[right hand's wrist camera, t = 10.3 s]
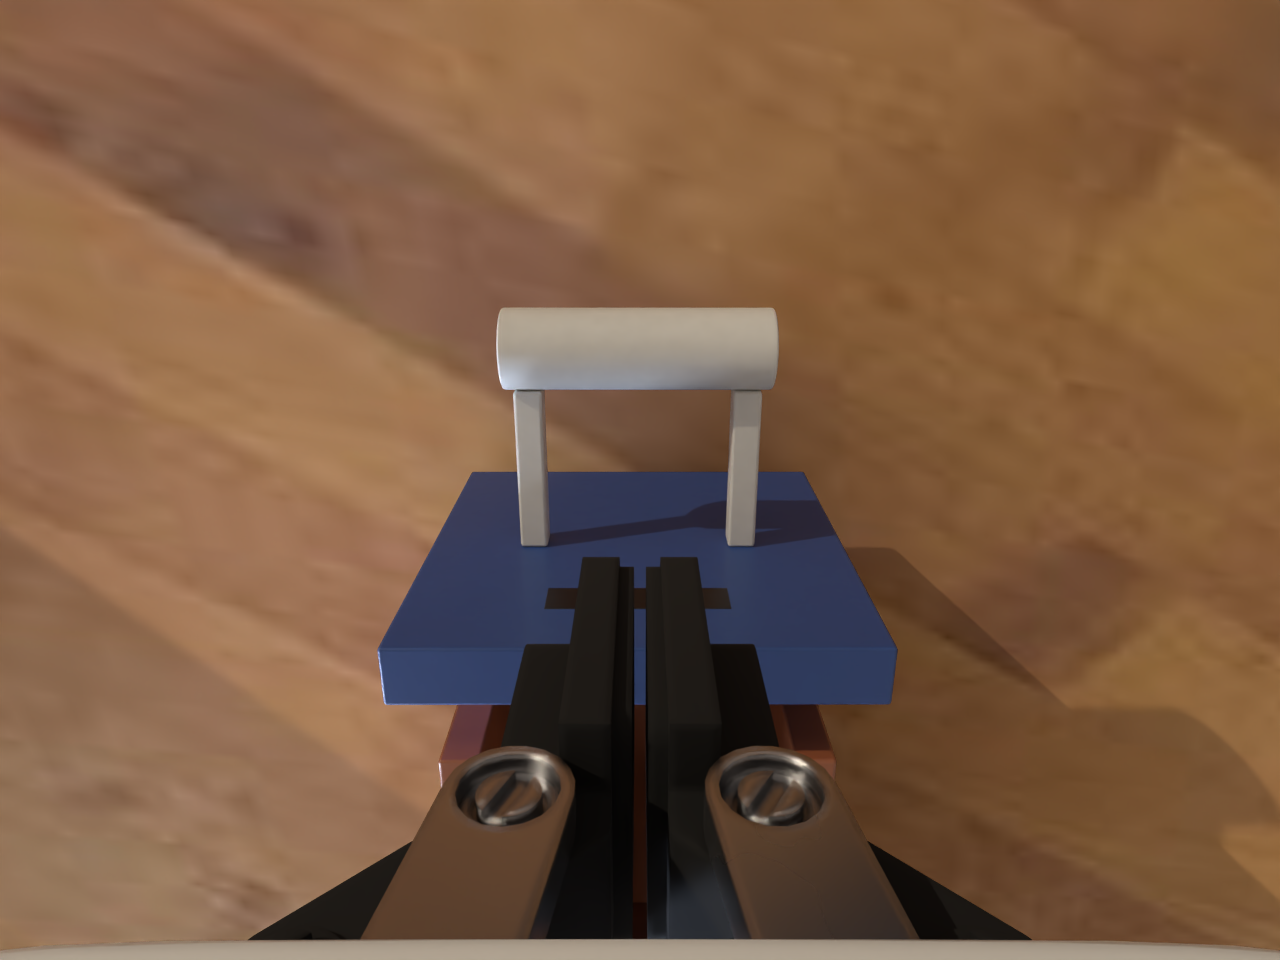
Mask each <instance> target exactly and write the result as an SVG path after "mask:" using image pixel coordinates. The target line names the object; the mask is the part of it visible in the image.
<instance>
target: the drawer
mask: <svg viewBox="0 0 1280 960" xmlns="http://www.w3.org/2000/svg"><path fill="white" fill-rule="evenodd" d="M778 355H779V331H778V321H777V315H776V312H775V310H774V309H773V308H502V309H501V310H500V313H499V317H498V323H497V364H498V373H499V378H500V382H501V385H502V387H503V389H506V390H515V392H514V394H513V399H514V418H515V437H516V456H517V472H473V473H472V474H471V476H470V477H469V479H468V481H467V483H466V485H465V487H464V489H463V491H462V492H461V494H460V496H459V498H458V500H457V502H456V504H455V505H454V507H453V509H452V511H451V513H450V515H449V517H448V519H447V520H446V522H445V524H444V526H443V528H442V530H441V532H440V534H439V535H438V537H437V539H436V541H435V543H434V545H433V547H432V548H431V550H430V552H429V554H428V556H427V558H426V560H425V562H424V563H423V565H422V567H421V569H420V571H419V573H418V575H417V576H416V578H415V580H414V582H413V584H412V586H411V588H410V590H409V591H408V593H407V595H406V597H405V599H404V601H403V603H402V604H401V606H400V608H399V610H398V612H397V614H396V616H395V618H394V619H393V621H392V623H391V625H390V627H389V629H388V631H387V632H386V634H385V636H384V638H383V640H382V642H381V644H380V646H379V647H378V658H379V666H380V674H381V682H382V690H383V698H384V703H385V704H386V705H457V708H456V711H455V714H454V717H453V720H452V723H451V726H450V729H449V732H448V735H447V738H446V741H445V744H444V747H443V750H442V753H441V756H440V759H439V771H440V781H441V788H442V786H443V784H444V782H445V781H446V779H447V778H448V777H449V775H450V774H451V773H452V772H453V770H454V769H455V768H456V767H458V766H459V765H460V764H462V763H463V762H465V761H466V760H467V759H469V758H470V757H473V756H475V755H477V754H480V753H482V752H484V751H487V750H491V749H495V748H500V747H501V744H502V739H503V735H504V731H505V727H506V723H507V718H508V714H509V710H510V706H511V702H512V697H513V693H514V689H515V685H516V681H517V677H518V672H519V668H520V664H521V660H522V656H523V651H524V648H525V645H526V644H570V639H571V632H572V626H573V619H574V612H575V605H576V598H577V591H578V584H579V578H580V571H581V564H582V558H583V557H620V567H634V714H635V738H634V848H633V939H647V848H646V739H645V713H646V567H660V557H697V558H698V564H699V571H700V578H701V584H702V591H703V598H704V605H705V612H706V619H707V626H708V632H709V639H710V644H754V645H755V648H756V651H757V656H758V660H759V664H760V668H761V672H762V677H763V681H764V685H765V689H766V693H767V697H768V702H769V706H770V710H771V714H772V718H773V723H774V727H775V731H776V735H777V739H778V744H779V747H780V748H785V749H789V750H793V751H796V752H798V753H800V754H803V755H805V756H807V757H810V758H811V759H813V760H814V761H815V762H817V763H818V764H820V765H821V766H822V767H824V768H825V769H826V770H827V772H828V773H829V774H830V775H831V777H832V778H833V779H834V781H835V772H836V762H837V761H836V758H835V755H834V752H833V749H832V746H831V743H830V740H829V737H828V734H827V731H826V728H825V725H824V722H823V719H822V716H821V713H820V710H819V707H818V704H890V703H891V700H892V692H893V683H894V675H895V667H896V659H897V651H898V649H897V647H896V645H895V643H894V641H893V639H892V637H891V636H890V634H889V632H888V630H887V628H886V626H885V624H884V622H883V621H882V619H881V617H880V615H879V613H878V611H877V609H876V607H875V606H874V604H873V602H872V600H871V598H870V596H869V594H868V592H867V591H866V589H865V587H864V585H863V583H862V581H861V579H860V577H859V576H858V574H857V572H856V570H855V568H854V566H853V564H852V562H851V561H850V559H849V557H848V555H847V553H846V551H845V549H844V547H843V546H842V544H841V542H840V540H839V538H838V536H837V534H836V532H835V530H834V529H833V527H832V525H831V523H830V521H829V519H828V517H827V515H826V514H825V512H824V510H823V508H822V506H821V504H820V502H819V500H818V499H817V497H816V495H815V493H814V491H813V489H812V487H811V485H810V484H809V482H808V480H807V478H806V476H805V474H804V473H803V472H758V466H759V447H760V427H761V408H762V393H761V391H760V390H770V389H772V388H773V386H774V384H775V380H776V375H777V368H778ZM544 390H731V409H730V434H729V460H728V472H548V471H547V446H546V421H545V396H544Z"/></svg>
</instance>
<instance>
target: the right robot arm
mask: <svg viewBox="0 0 1280 960" xmlns="http://www.w3.org/2000/svg"><path fill="white" fill-rule="evenodd" d="M634 738H635V714H634V567H620V557H583V558H582V564H581V571H580V578H579V584H578V591H577V598H576V605H575V612H574V619H573V626H572V632H571V639H570V644H526V645H525V648H524V651H523V656H522V660H521V664H520V668H519V672H518V677H517V681H516V685H515V689H514V693H513V697H512V702H511V706H510V710H509V714H508V718H507V723H506V727H505V731H504V735H503V739H502V744H501V747H500V748H495V749H491V750H487V751H484V752H482V753H480V754H477V755H475V756H473V757H470V758H469V759H467V760H466V761H465V762H463V763H462V764H460V765H459V766H458V767H456V768H455V769H454V770H453V772H452V773H451V774H450V775H449V777H448V778H447V779H446V781H445V782H444V784H443V786H442V788H441V789H440V791H439V793H438V795H437V797H436V799H435V801H434V802H433V804H432V806H431V808H430V810H429V812H428V814H427V816H426V817H425V819H424V821H423V823H422V825H421V827H420V829H419V830H418V832H417V834H416V836H415V838H414V840H413V841H412V842H410V843H408V844H407V845H405V846H403V847H402V848H400V849H398V850H397V851H395V852H393V853H392V854H390V855H388V856H386V857H385V858H383V859H381V860H380V861H378V862H376V863H375V864H373V865H371V866H370V867H368V868H366V869H365V870H363V871H361V872H360V873H358V874H356V875H355V876H353V877H351V878H350V879H348V880H346V881H345V882H343V883H341V884H340V885H338V886H336V887H334V888H333V889H331V890H329V891H328V892H326V893H324V894H323V895H321V896H319V897H318V898H316V899H314V900H313V901H311V902H309V903H308V904H306V905H304V906H303V907H301V908H299V909H298V910H296V911H294V912H293V913H291V914H289V915H288V916H286V917H284V918H283V919H281V920H279V921H277V922H276V923H274V924H272V925H271V926H269V927H267V928H266V929H264V930H262V931H261V932H259V933H257V934H256V935H254V936H253V937H251V938H250V939H248V940H215V941H149V942H122V943H96V944H70V945H45V946H36V947H27V948H18V949H9V950H0V960H1280V950H1271V949H1262V948H1253V947H1244V946H1235V945H1210V944H1184V943H1158V942H1131V941H1065V940H1032V939H1030V938H1029V937H1027V936H1026V935H1024V934H1023V933H1021V932H1019V931H1018V930H1016V929H1014V928H1013V927H1011V926H1009V925H1008V924H1006V923H1004V922H1003V921H1001V920H999V919H997V918H996V917H994V916H992V915H991V914H989V913H987V912H986V911H984V910H982V909H981V908H979V907H977V906H976V905H974V904H972V903H971V902H969V901H967V900H966V899H964V898H962V897H961V896H959V895H957V894H956V893H954V892H952V891H951V890H949V889H947V888H946V887H944V886H942V885H940V884H939V883H937V882H935V881H934V880H932V879H930V878H929V877H927V876H925V875H924V874H922V873H920V872H919V871H917V870H915V869H914V868H912V867H910V866H909V865H907V864H905V863H904V862H902V861H900V860H899V859H897V858H895V857H894V856H892V855H890V854H888V853H887V852H885V851H883V850H882V849H880V848H878V847H877V846H875V845H873V844H872V843H870V842H868V841H867V840H866V838H865V836H864V834H863V832H862V830H861V829H860V827H859V825H858V823H857V821H856V819H855V817H854V816H853V814H852V812H851V810H850V808H849V806H848V804H847V802H846V801H845V799H844V797H843V795H842V793H841V791H840V789H839V788H838V786H837V784H836V782H835V781H834V779H833V778H832V777H831V775H830V774H829V773H828V772H827V770H826V769H825V768H824V767H822V766H821V765H820V764H818V763H817V762H815V761H814V760H813V759H811V758H810V757H807V756H805V755H803V754H800V753H798V752H796V751H793V750H789V749H785V748H780V747H779V744H778V739H777V735H776V731H775V727H774V723H773V718H772V714H771V710H770V706H769V702H768V697H767V693H766V689H765V685H764V681H763V677H762V672H761V668H760V664H759V660H758V656H757V651H756V648H755V645H754V644H710V639H709V632H708V626H707V619H706V612H705V605H704V598H703V591H702V584H701V578H700V571H699V564H698V558H697V557H660V567H646V713H645V739H646V848H647V939H633V848H634Z"/></svg>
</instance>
